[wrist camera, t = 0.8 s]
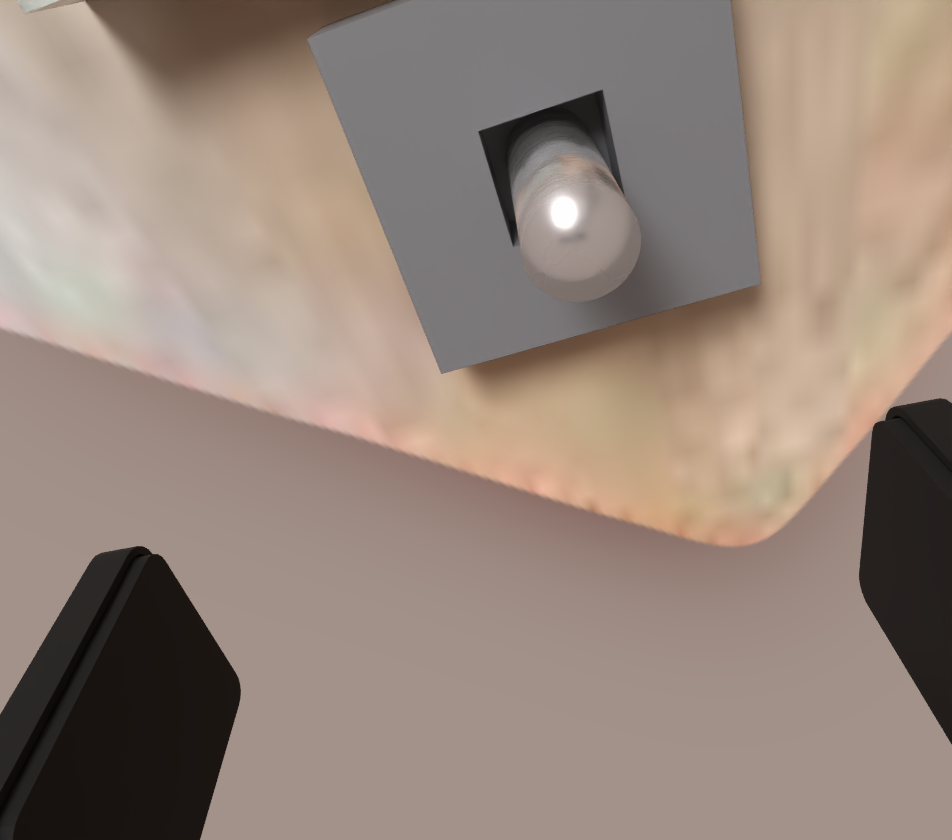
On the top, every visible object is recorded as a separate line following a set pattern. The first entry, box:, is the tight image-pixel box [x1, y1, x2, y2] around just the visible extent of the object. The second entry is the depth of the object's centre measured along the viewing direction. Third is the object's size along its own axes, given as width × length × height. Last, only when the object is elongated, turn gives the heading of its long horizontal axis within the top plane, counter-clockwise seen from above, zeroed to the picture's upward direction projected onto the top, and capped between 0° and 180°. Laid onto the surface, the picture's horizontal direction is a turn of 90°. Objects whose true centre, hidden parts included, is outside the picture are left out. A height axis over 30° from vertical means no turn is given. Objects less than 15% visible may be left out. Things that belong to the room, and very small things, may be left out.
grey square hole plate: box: [307, 0, 761, 374], centre depth 25 cm, size 12×12×3 cm
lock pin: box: [506, 107, 641, 302], centre depth 22 cm, size 3×3×9 cm
